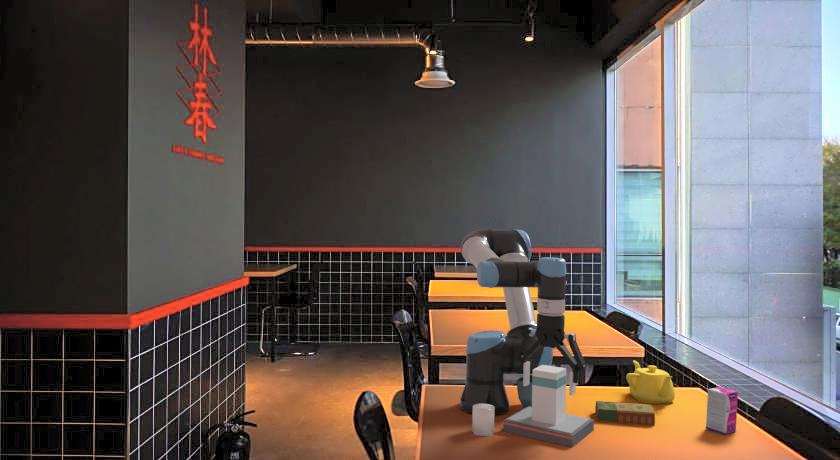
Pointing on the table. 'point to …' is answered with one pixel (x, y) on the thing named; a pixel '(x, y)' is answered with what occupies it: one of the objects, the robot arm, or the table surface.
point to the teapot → (651, 385)
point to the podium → (549, 428)
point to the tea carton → (548, 394)
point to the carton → (625, 413)
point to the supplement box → (721, 410)
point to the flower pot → (524, 392)
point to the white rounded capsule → (483, 419)
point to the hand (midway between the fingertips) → (548, 389)
